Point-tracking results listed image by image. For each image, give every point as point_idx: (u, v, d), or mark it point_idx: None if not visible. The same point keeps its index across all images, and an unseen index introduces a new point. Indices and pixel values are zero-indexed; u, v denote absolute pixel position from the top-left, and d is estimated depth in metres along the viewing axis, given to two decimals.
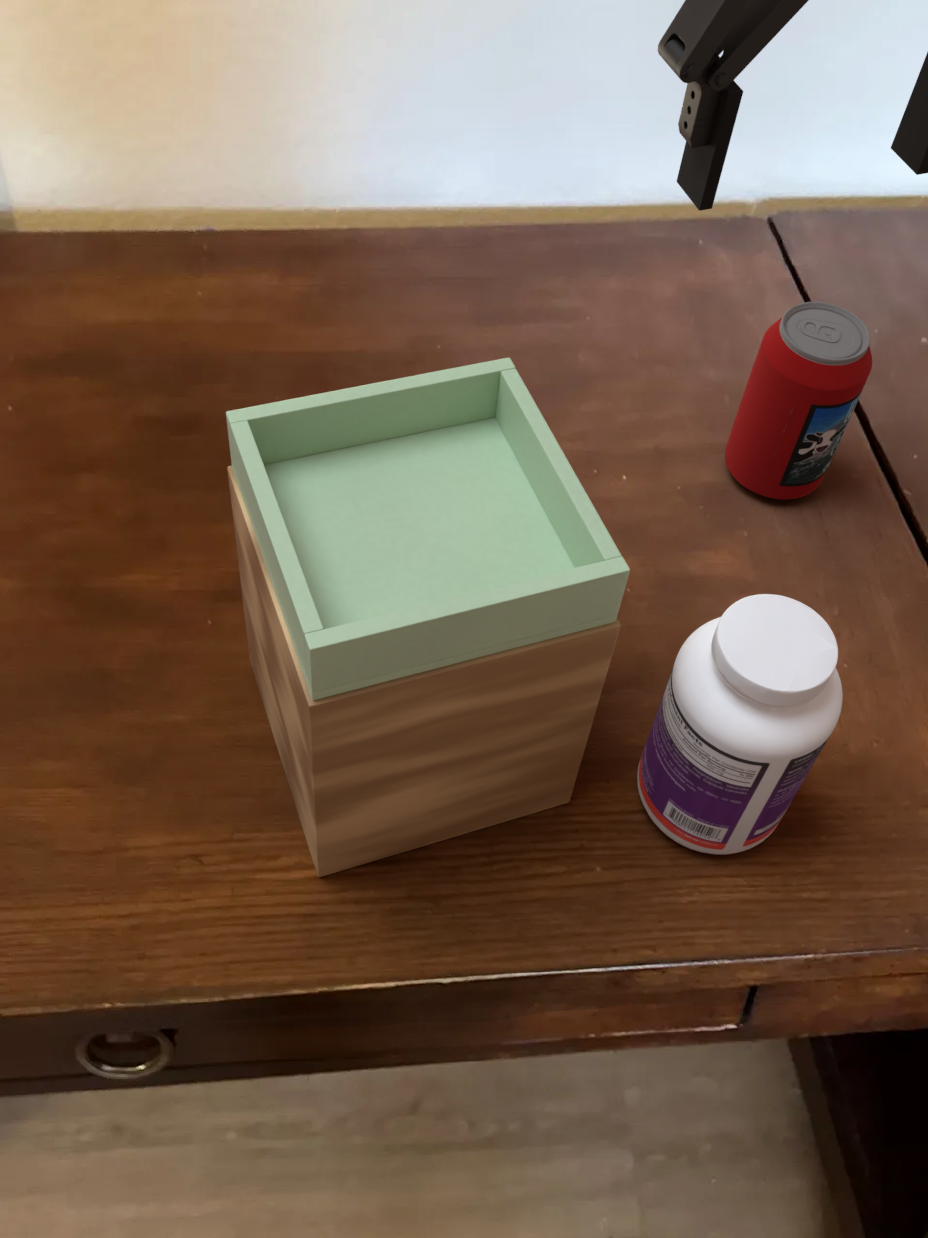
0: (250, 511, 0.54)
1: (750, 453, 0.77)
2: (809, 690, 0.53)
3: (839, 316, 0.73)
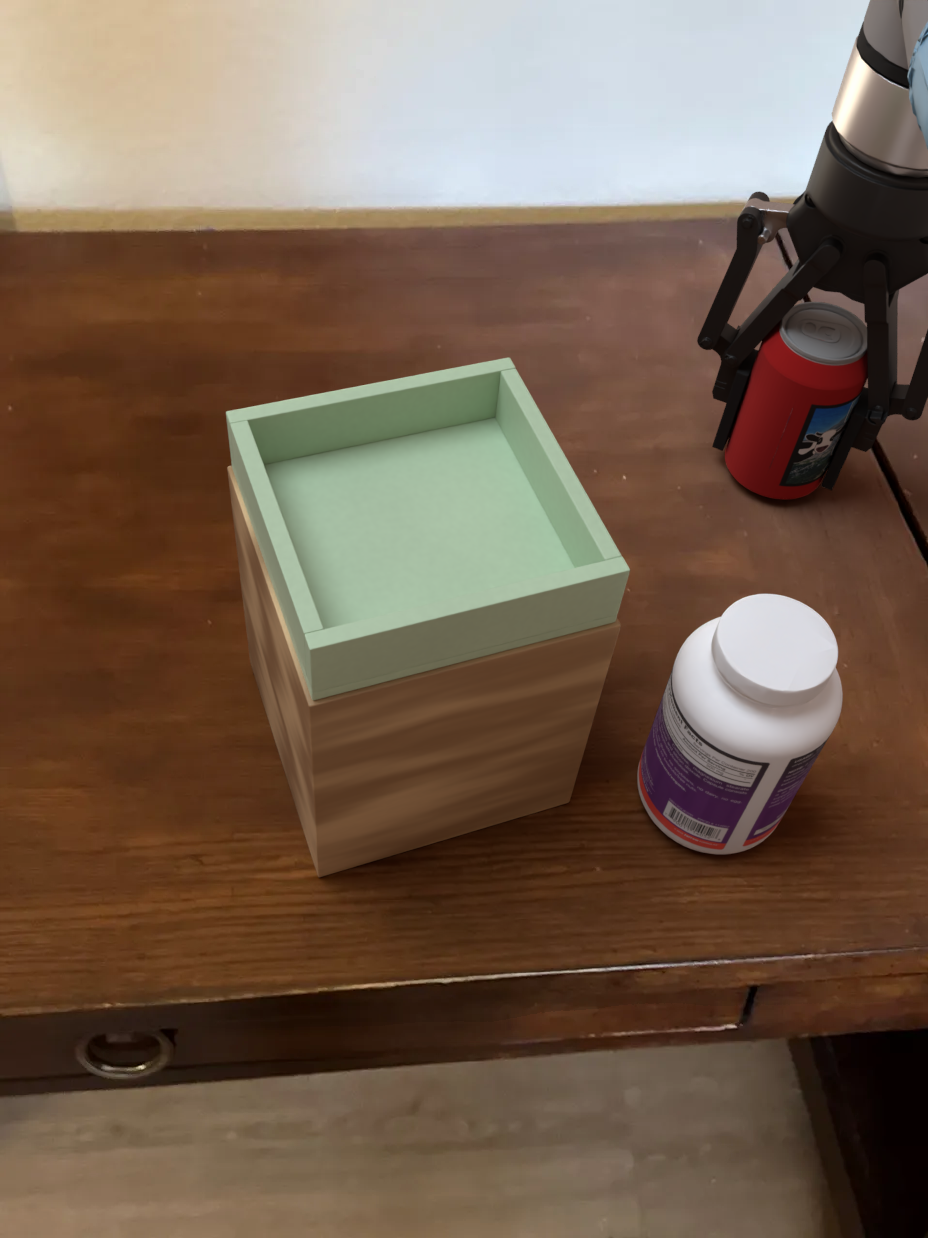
0: (250, 511, 0.54)
1: (750, 453, 0.77)
2: (809, 689, 0.53)
3: (839, 316, 0.73)
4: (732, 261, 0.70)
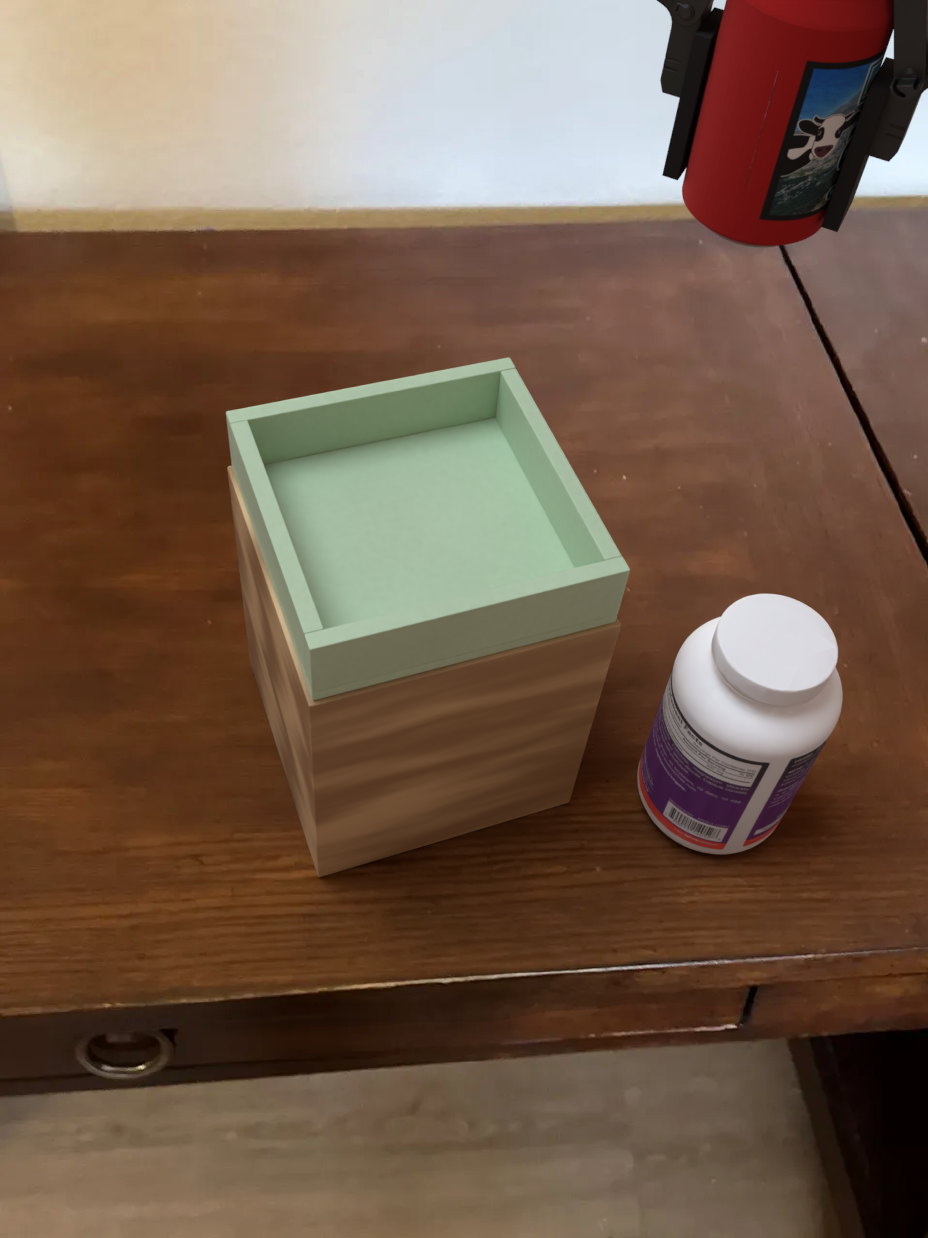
0: (250, 511, 0.54)
1: (716, 167, 0.52)
2: (809, 689, 0.53)
3: None
4: None
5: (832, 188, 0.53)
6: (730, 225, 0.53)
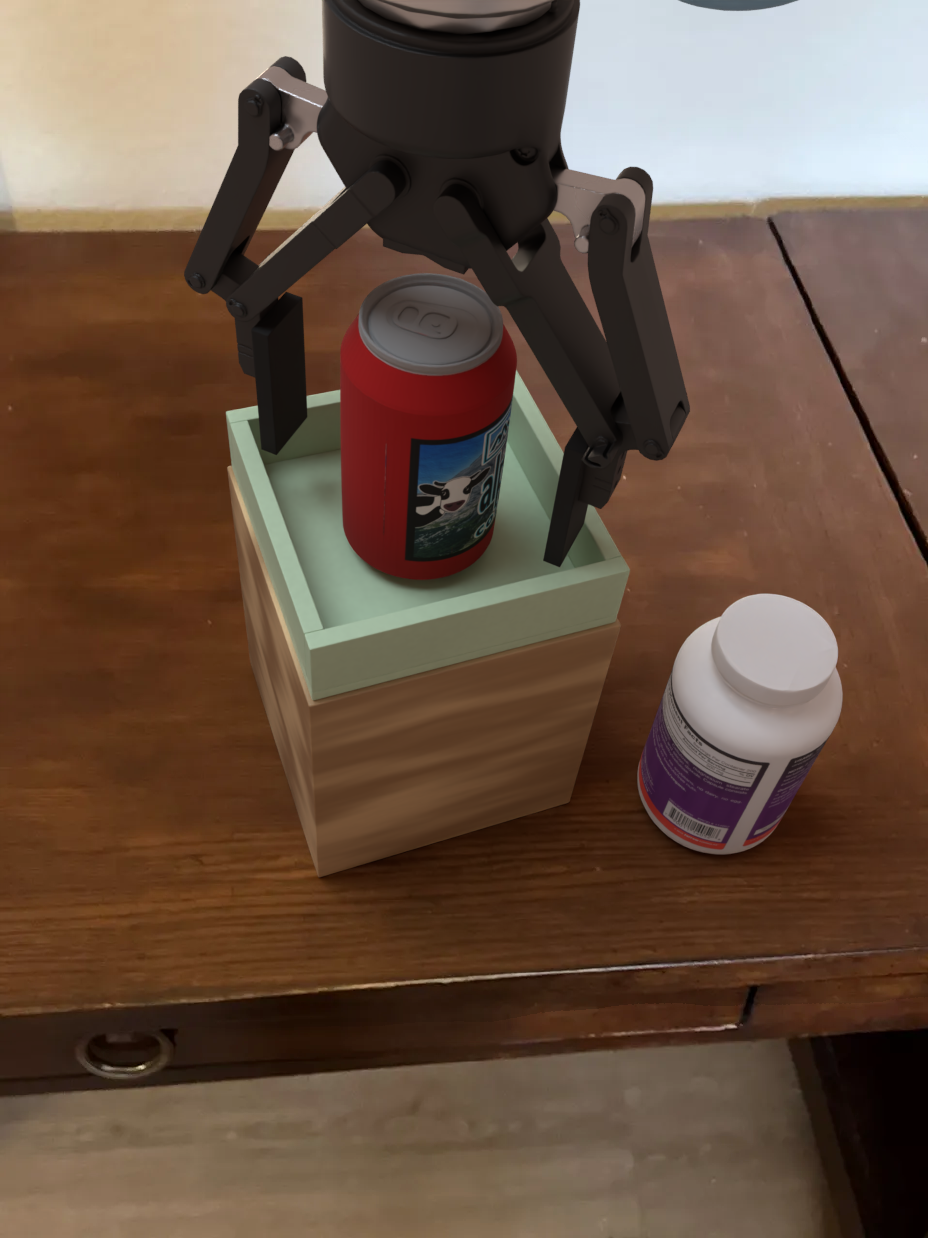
0: (250, 511, 0.54)
1: (356, 511, 0.50)
2: (809, 689, 0.53)
3: (464, 296, 0.46)
4: (232, 165, 0.42)
5: (481, 527, 0.51)
6: (379, 562, 0.51)
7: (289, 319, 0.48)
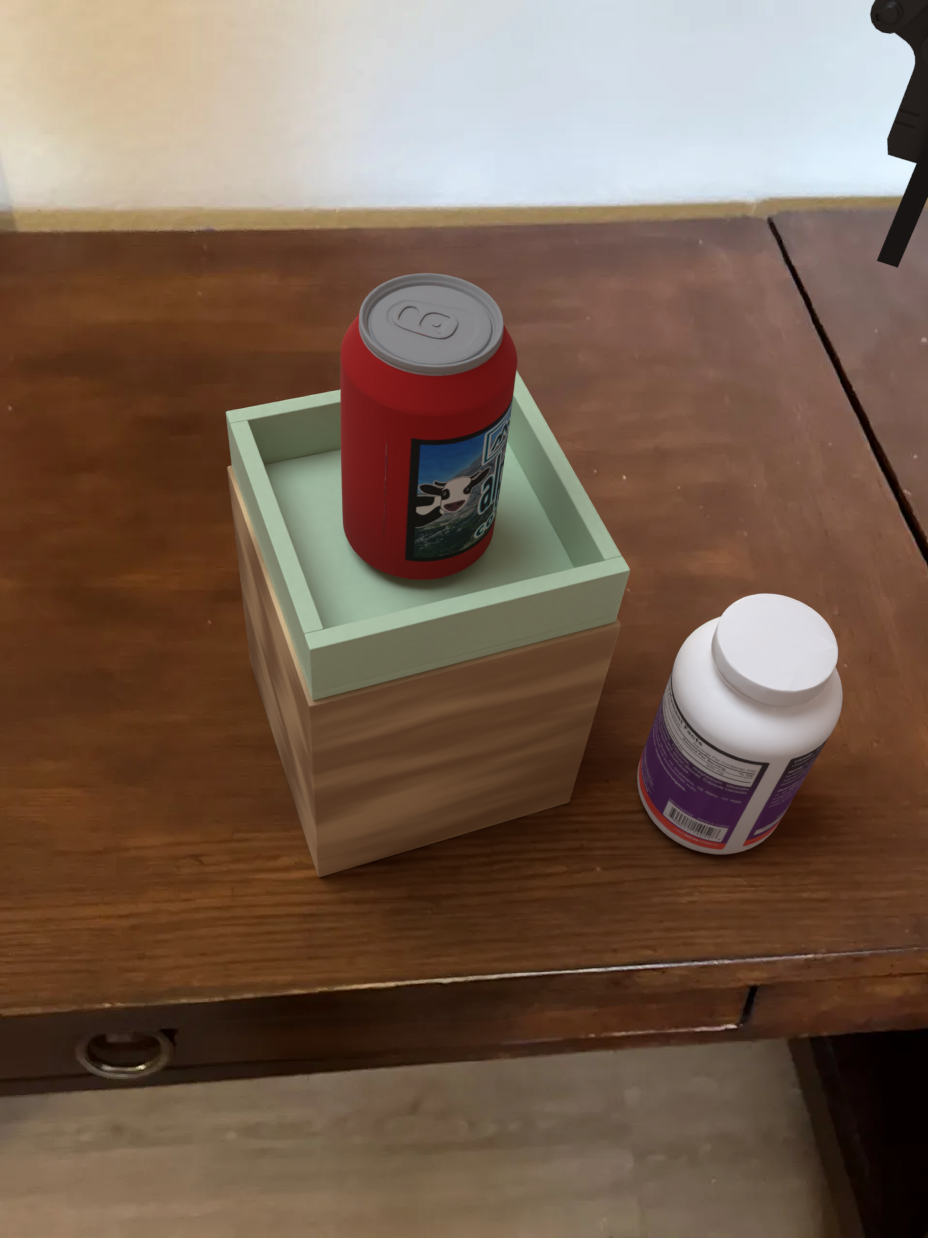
0: (250, 511, 0.54)
1: (356, 511, 0.50)
2: (809, 689, 0.53)
3: (464, 296, 0.46)
4: None
5: (481, 527, 0.51)
6: (379, 562, 0.51)
7: None
